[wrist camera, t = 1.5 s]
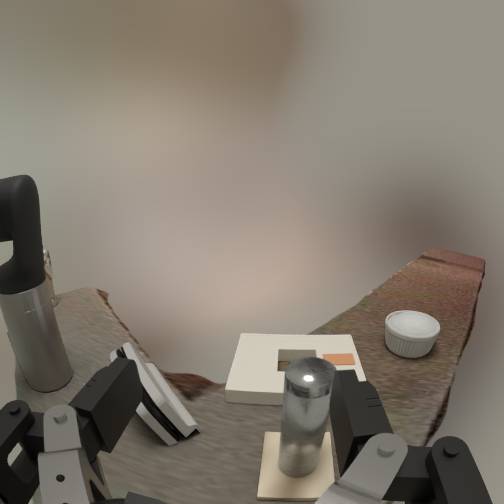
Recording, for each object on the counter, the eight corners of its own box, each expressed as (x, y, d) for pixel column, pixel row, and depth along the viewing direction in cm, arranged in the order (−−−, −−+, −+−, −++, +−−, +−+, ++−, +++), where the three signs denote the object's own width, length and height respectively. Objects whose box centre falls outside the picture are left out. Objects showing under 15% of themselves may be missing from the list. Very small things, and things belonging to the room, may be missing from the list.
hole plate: (226, 401, 38) (224, 388, 38) (241, 344, 54) (241, 332, 53) (365, 403, 36) (369, 389, 36) (348, 345, 52) (350, 333, 51)
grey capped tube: (276, 477, 25) (284, 387, 21) (278, 448, 29) (285, 356, 25) (317, 477, 24) (340, 387, 21) (316, 448, 28) (333, 356, 25)
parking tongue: (257, 499, 22) (257, 496, 22) (265, 435, 32) (265, 431, 32) (334, 499, 22) (335, 496, 21) (328, 435, 31) (329, 432, 31)
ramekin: (398, 327, 57) (402, 304, 56) (442, 344, 48) (448, 321, 47) (369, 346, 51) (374, 322, 49) (418, 370, 42) (426, 344, 40)
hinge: (205, 433, 32) (167, 389, 28) (176, 452, 30) (132, 412, 26) (157, 369, 45) (127, 325, 41) (135, 383, 43) (102, 341, 39)
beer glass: (40, 301, 68) (29, 250, 64) (60, 298, 71) (51, 247, 67) (35, 311, 62) (23, 256, 58) (57, 308, 65) (46, 253, 61)
